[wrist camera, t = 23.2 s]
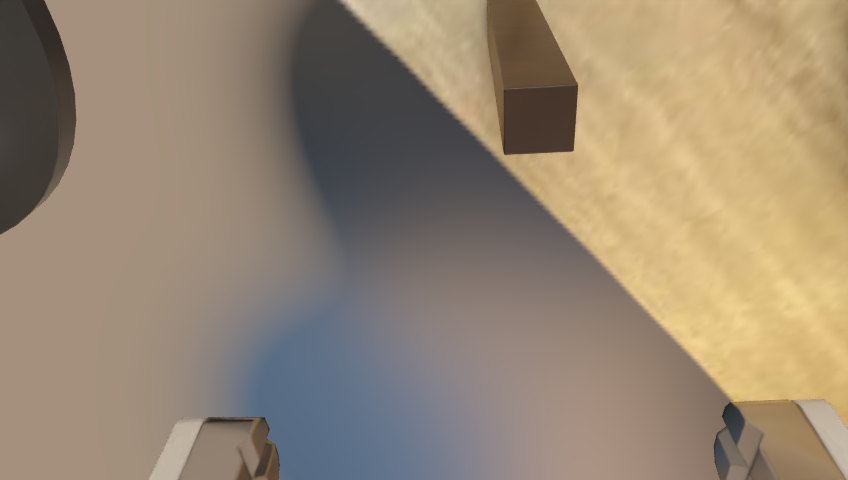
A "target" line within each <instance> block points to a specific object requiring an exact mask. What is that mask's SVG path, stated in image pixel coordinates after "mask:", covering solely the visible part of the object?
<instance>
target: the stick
mask: <svg viewBox="0 0 848 480" xmlns="http://www.w3.org/2000/svg"><path fill="white" fill-rule="evenodd" d="M487 26H488V48H489V55H490V61H491V68H492V75H493V82H494V89H495V96H496V103H497V110H498V117H499V124H500V131H501V138H502V145H503V151H504V154H505V155H511V154H531V153H551V152H572V151H573V150H574V138H575V124H576V109H577V95H578V84H577V82H576V80H575V78H574V76H573V74H572V72H571V70H570V68H569V66H568V64H567V62H566V60H565V58H564V56H563V54H562V52H561V50H560V48H559V46H558V44H557V42H556V40H555V38H554V36H553V34H552V32H551V30H550V28H549V26H548V24H547V22H546V20H545V18H544V16H543V14H542V12H541V10H540V8H539V6H538V4H537V1H536V0H487Z"/></svg>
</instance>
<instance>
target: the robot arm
mask: <svg viewBox="0 0 848 480" xmlns="http://www.w3.org/2000/svg"><path fill="white" fill-rule="evenodd" d="M722 417H723V419H724V422H725V424H726V427H725V428H723V429H722V430H721V431H719V432H718V433H717V435H716V439H715V443H714V457H715V464H716V468H717V472H718V475H719V477H720V480H848V428H847V426H846V425H845V423H844V422H843V421H842V419H841V418H840V416H839V415H838V413H837V412H836V411H835V409H834V408H833V406H832V405H831V404H830V403H829V402H827V401H826V400H824V399H812V400H791V401H790V400H767V401H744V402H730V403H729V404H728V405H727V406H725V409H724V412H723V415H722ZM269 430H270V429H269V427H268V424H267V422H266V419H265V418H264V417H263V418H262V417H228V418H227V417H208V418H181V419H180V420H179V421H178V422H177V423H176V424H175V426H174V427H173V429H172V431H171V433H170V436H169V437H168V440H167V442H166V444H165V446H164V448H163V450H162V453H161V454H160V456H159V459H158V461H157V463H156V465H155V467H154V469H153V471H152V473H151V476H150V478H149V480H278V479H279V467H280V464H279V456H278V452H277V449H276V446H275V444H273V443H272V442H270V441H269V440H268V439H267V436H268V433H269Z"/></svg>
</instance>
